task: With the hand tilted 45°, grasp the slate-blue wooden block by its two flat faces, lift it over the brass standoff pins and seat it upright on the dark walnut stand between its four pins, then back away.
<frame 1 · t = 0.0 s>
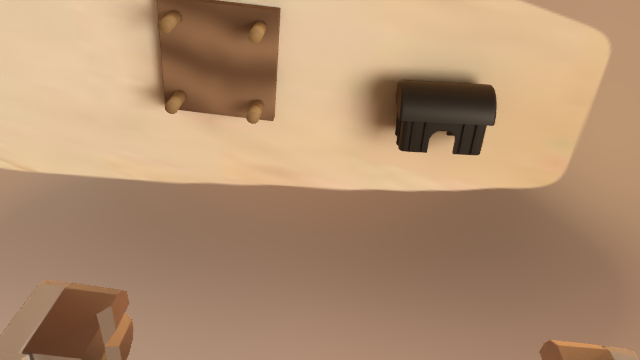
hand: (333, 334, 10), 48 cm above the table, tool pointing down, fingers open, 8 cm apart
end cap: (437, 100, 59), on the table
stand: (221, 59, 57), on the table
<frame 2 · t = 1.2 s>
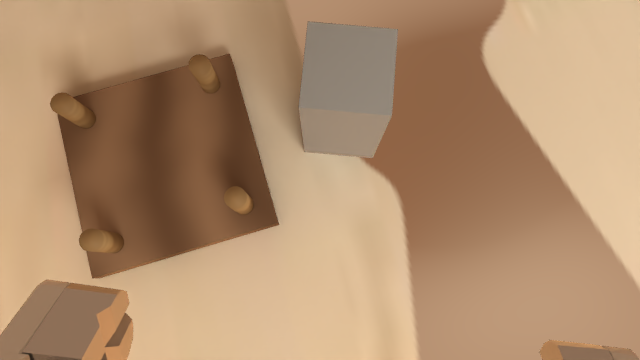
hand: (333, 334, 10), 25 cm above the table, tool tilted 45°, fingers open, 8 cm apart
stand: (168, 164, 36), on the table
slate block: (341, 122, 37), on the table
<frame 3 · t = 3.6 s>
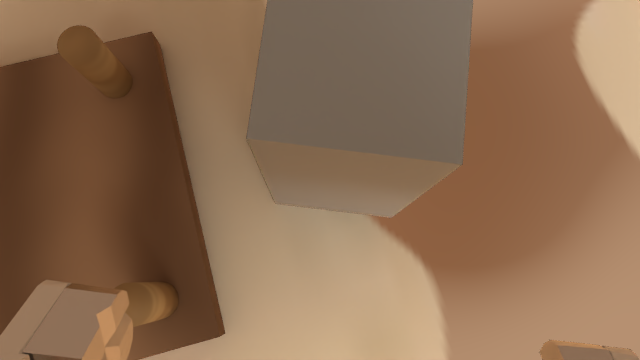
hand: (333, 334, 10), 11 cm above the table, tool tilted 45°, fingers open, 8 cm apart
stand: (38, 220, 21), on the table
slate block: (339, 154, 22), on the table
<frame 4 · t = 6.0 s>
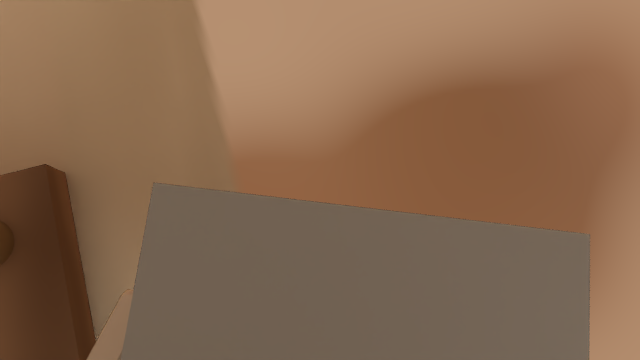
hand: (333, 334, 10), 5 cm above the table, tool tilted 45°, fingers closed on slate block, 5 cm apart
slate block: (321, 337, 15), on the table, touching gripper
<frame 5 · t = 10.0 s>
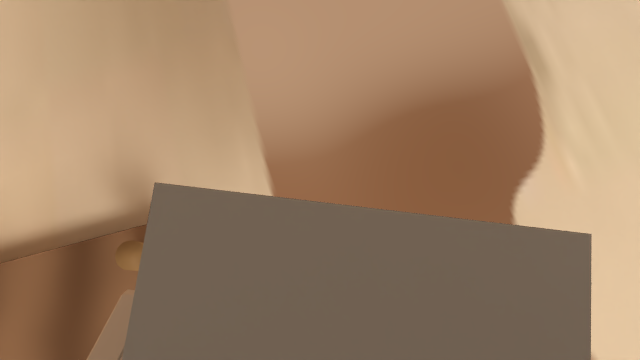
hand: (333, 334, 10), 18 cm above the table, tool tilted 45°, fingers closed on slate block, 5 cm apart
slate block: (322, 337, 15), point 13 cm above the table, touching gripper
when the fingers open (8 cm above the table, at t = 14.1 s): slate block drops 1 cm, resting on stand.
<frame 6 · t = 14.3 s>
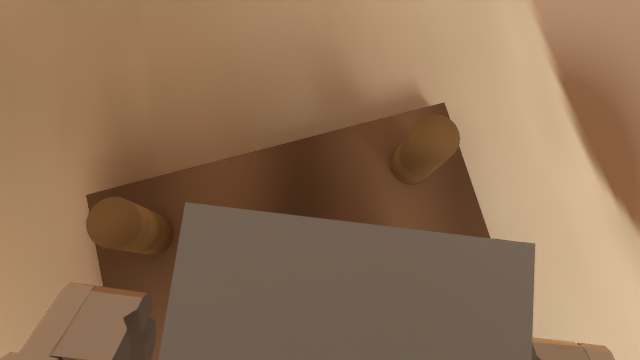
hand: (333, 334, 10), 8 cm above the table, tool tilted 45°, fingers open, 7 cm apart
stand: (318, 328, 18), on the table
slate block: (320, 332, 16), point 1 cm above the table, touching stand
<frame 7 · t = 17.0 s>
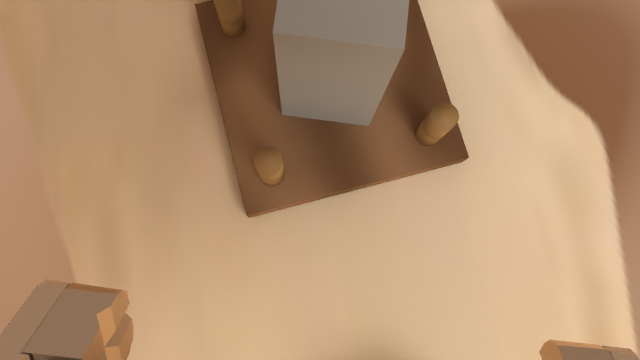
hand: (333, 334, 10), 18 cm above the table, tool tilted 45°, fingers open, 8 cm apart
stand: (328, 87, 30), on the table
slate block: (330, 79, 29), point 1 cm above the table, touching stand
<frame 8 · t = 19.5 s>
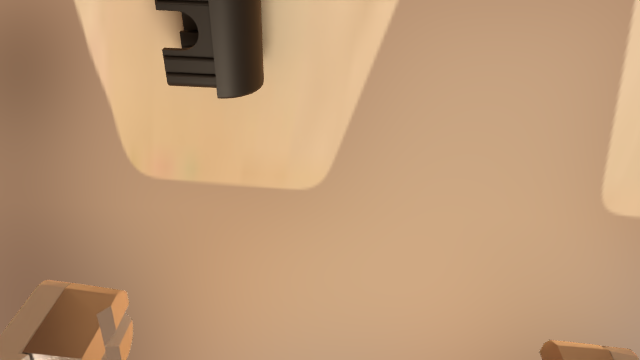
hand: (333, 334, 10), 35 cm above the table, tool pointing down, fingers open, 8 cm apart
end cap: (226, 9, 42), on the table
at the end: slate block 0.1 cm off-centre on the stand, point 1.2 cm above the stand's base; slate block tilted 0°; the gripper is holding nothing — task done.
